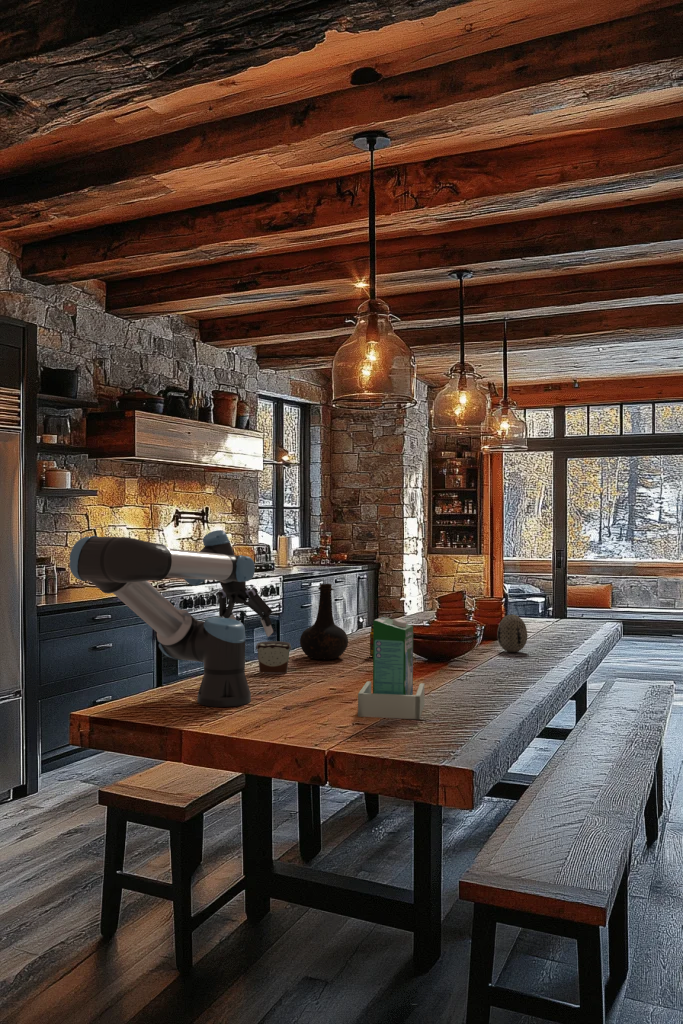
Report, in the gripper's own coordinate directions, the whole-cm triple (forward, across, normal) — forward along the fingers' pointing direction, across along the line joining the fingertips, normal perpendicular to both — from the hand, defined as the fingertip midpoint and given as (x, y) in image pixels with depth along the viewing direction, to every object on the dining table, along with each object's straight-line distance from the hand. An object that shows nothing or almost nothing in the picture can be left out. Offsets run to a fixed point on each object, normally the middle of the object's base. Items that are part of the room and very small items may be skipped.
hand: (253, 633), depth 266 cm
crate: (+13, -55, +17) cm, 59 cm away
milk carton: (+13, -55, +16) cm, 59 cm away
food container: (+21, +6, -8) cm, 24 cm away
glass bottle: (+36, +7, -36) cm, 52 cm away
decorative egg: (+65, -46, -83) cm, 115 cm away
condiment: (+44, -8, -49) cm, 67 cm away
